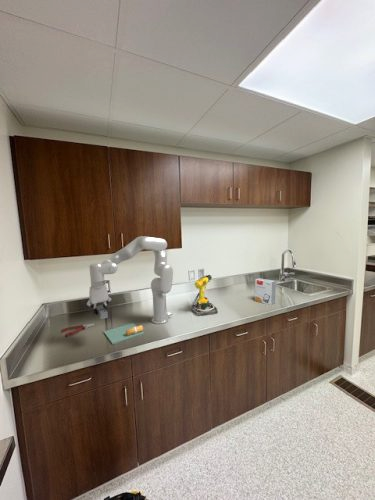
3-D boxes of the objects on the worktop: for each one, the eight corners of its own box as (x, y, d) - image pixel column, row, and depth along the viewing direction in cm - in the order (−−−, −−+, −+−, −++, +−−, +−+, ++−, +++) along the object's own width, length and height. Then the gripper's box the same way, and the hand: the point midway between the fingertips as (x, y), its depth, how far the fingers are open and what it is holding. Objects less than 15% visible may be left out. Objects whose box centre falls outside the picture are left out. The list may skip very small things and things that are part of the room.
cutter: (102, 311, 133) (101, 304, 132) (108, 317, 122) (107, 310, 122) (95, 312, 130) (94, 306, 130) (100, 319, 120) (100, 312, 119)
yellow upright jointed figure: (220, 313, 163) (219, 278, 161) (196, 316, 159) (195, 280, 156) (211, 305, 181) (210, 273, 179) (190, 308, 177) (189, 275, 174)
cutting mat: (133, 323, 150) (132, 317, 150) (144, 333, 135) (143, 326, 134) (103, 332, 138) (103, 325, 138) (112, 344, 123) (112, 337, 123)
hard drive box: (254, 301, 188) (254, 279, 186) (258, 299, 193) (258, 277, 191) (271, 305, 176) (271, 282, 175) (275, 303, 181) (275, 280, 180)
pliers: (97, 327, 147) (97, 324, 147) (65, 338, 133) (65, 334, 133) (92, 323, 155) (91, 319, 155) (61, 332, 142) (60, 328, 142)
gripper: (110, 280, 134) (112, 307, 136) (81, 285, 124) (84, 315, 126) (114, 282, 128) (116, 311, 130) (83, 287, 118) (86, 319, 120)
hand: (100, 312), depth 128 cm, fingers closed on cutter, 4 cm apart
